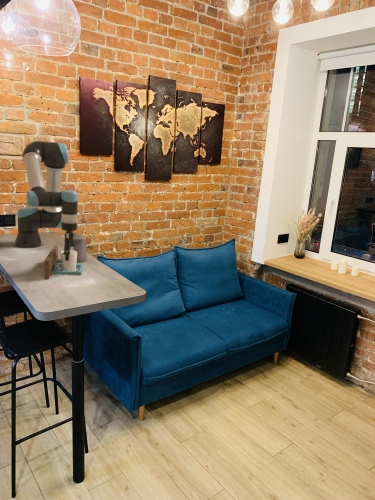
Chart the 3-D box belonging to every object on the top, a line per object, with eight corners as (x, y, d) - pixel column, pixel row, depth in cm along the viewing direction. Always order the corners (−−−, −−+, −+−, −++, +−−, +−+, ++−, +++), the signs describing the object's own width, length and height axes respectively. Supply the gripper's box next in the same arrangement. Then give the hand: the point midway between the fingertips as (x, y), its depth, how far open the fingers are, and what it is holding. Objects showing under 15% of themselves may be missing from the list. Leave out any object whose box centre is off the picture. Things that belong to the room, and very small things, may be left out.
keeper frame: (81, 274, 186) (81, 272, 186) (53, 274, 184) (53, 271, 183) (83, 266, 199) (83, 264, 199) (57, 265, 196) (57, 263, 196)
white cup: (79, 269, 193) (80, 251, 191) (70, 273, 186) (70, 254, 184) (67, 267, 196) (67, 248, 194) (57, 270, 189) (57, 252, 186)
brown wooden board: (48, 279, 177) (48, 261, 174) (44, 278, 176) (44, 260, 174) (57, 261, 203) (57, 246, 201) (54, 261, 203) (54, 245, 200)
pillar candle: (73, 256, 215) (73, 231, 211) (89, 259, 213) (89, 233, 209) (65, 261, 205) (64, 235, 201) (81, 263, 204) (81, 237, 200)
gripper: (74, 227, 174) (73, 270, 179) (79, 217, 197) (78, 256, 203) (57, 226, 172) (57, 269, 178) (64, 217, 196) (64, 255, 201)
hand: (68, 262), depth 190 cm, fingers open, 13 cm apart
